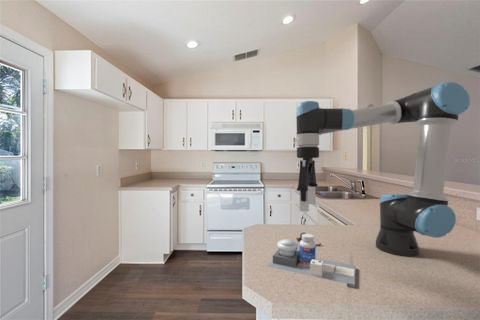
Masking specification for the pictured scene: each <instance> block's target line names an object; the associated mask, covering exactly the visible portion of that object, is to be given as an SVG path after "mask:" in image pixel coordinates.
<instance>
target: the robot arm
mask: <svg viewBox="0 0 480 320" xmlns="http://www.w3.org/2000/svg"><path fill="white" fill-rule="evenodd" d="M470 103H471V99H470V94H469V93H468V90H467V89H466V88H465V87H464V86H463V85H461V84H460V83H457V82H454V81H447V82H443V83H439V84H438V83H437V84H435V85H434V86H431V87H428V88H425V89H423V90H420V91H416V92H414V93H412V94H409V95H406V96H404V97H401V98H398V99H395V100H394V99H393V100H390V101H388V102H386V104H381V105H380V104H379V105H374V106H369V107H363V108H357V109H350V108H343V107H341V108H323V107H320V105H319V104H320V103H319V102H318V101H315V100H305V101H301V102H300V103H298V104H297V105H296V115H295V118H296V137H295V138H294V140H295V141H296V146H297V148H296V157H297V159H302V160H300V161H299V175H298V185H297V187H296V191H297V192H299V212H307V213H308V212H309V210H310V209H309V207H310V206H309V205H315V206H316V205H317V204H316V198H317V197H316V196H317V195H316V187H318V183H317V177H316V168H315V167H316V164H315V163H316V161H315V160H313V159H317V158H320V148H319V147H318V146H320V136H321V135H323V134H324V135H325V134H329V133H330V134H331V133H335V132H340V131H341V132H342V131H348V130H353V129H357V128H364V127H369V126H375V125H380V124H381V125H382V124H386V123H389V124H390V125H396V124H403V123H416V124H417V125H418V126H419V127H420V129H419V138H418V146H417V154H416V155H417V156H416V162H415V170H414V171H415V172H414V179H413V185H412V186H413V187H412V188H413V189H412V190H411V191H410V192H408V193H407V194H406V193H404V194H403V193H400V194H398V193H397V194H396V193H394V194H388V193H387V194H386V193H385V194H382V195H380V198H379V199H380V200H379V213H380V214H379V217H380V218H379V220H380V221H379V222H380V223H379V224H380V226H379V227H380V228H379V231H378V234H377V236H376V239H375V247H376V248H377V249H378V250H380V251H382V252H385V253H388V254H390V255H396V256H402V257H403V256H404V257H413V256H414V257H415V256H418V255H420V246H419V244H418V240H417V238H416V236H415V233H418V234H420V235H422V236H427V237H430V238H434V239H436V238H437V239H438V238H443V237H444V236H446V235H447V234H450V233H451V231H453V229H455V228H454V227H455V225H456V222H457V216H456V213H455V212H454V210H453V209H452V208H451V207H450V206H449V199H448V198H447V196H445V195H444V190H445V183H446V174H447V165H448V158H449V157H448V156H449V148H450V141H451V131H452V127H453V126H454V125H457V123H458V122H459V115H461V114H464V112H466V110H468V108H469V107H470Z"/></svg>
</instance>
